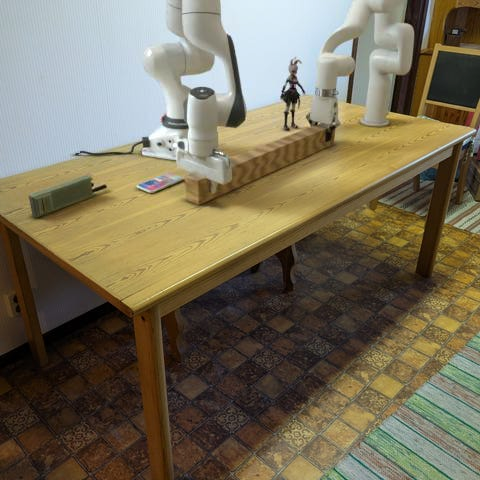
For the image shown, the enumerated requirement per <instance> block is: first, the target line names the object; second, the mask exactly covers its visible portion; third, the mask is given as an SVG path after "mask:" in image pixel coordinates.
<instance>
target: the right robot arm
mask: <svg viewBox="0 0 480 480" xmlns="http://www.w3.org/2000/svg"><path fill="white" fill-rule="evenodd" d="M405 2H406V0H352V1H351V4H350V7H349V9H348V12H347V14H346V17H345V19H344V21H343V24H342V25H341V26H339V27H337V29H335V30H334V31H333V32H332V33H331V34H330V35H329V36H328V37H326V39H325V40H324V42H323V44H322V46H321V49H320V51H319V53H318V56H317V60H316V79H315V90H314V91H315V92H314V94H313V97H312V100H311V104H310V109H309V110H310V111H309V113H307V115H306V116H305V119H306V121H307V122H308V123H309V125H310V127H312V126H315V125H317V124H320V123H323V124H326V126H327V132H326V138H325V142H328V141H331V139H332V131H333V130H334V129H335V130H336V129H337V128H339V127H340V126H341V121H340V119H339V99H338V95H339V94H340V93H339V91H337V86H338V85H337V84H338V77H348V76H350V75H351V74H353V72H354V70H355V68H356V61H355V59H354V58H353V57H352V56H350V55H348V54H342V53H336V52H335V50H336V49H337V48H338V47H339V46H340V45H342V44H344V43H346V42H349V41H352V40H355V39H357V38H359V37H361V36H363V35H364V34H365V33H366V30H367V28H368V25H369V22H370V20H371V18H372V15H373V14H374V27H373V28H374V31H373V40H374V43H375V45H377V46H380V47H381V48H376V49H374V50H372V52H371V53H370V56H369V59H368V64H369V65H368V66H369V78H368V85H367V93H366V94H367V95H366V101H365V108H364V115H363V116H362V117H361V118H360V119H359V122H360V124H362V125H364V126H368V127H375V128H376V127H378V128H380V127H386V126H389V124H390V121H389V120H388V119H387V116H389V115H390V112H389V110H388V108H389V102H390V96H391V95H390V94H391V90H392V80H391V76H390V75H396V76H405V75H407V74H409V72H410V70H411V68H412V63H413V55H414V54H413V53H414V45H415V44H414V43H415V29H414V27H413V26H412V25H411V24H409V23H406V22H398V20H397V19H398V18H397V17H398V15H397V14H398V8H399V7H400V6H402V5H403V4H404V3H405ZM389 74H390V75H389ZM333 124H335V125H333Z"/></svg>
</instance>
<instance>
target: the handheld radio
mask: <svg viewBox="0 0 480 480" xmlns="http://www.w3.org/2000/svg"><path fill="white" fill-rule="evenodd" d="M92 176H93V174H91V173H88V174H85V175H83V176H79V177H76V178H74V179H71V180H68V181H65V182H62V183H59V184H57V185H54V186H50V187H47V188H44V189H42V190H39V191H37V192H33V193H30V194H28V200H29V206H30V210H31V216H32V217H34V218H35V219H36V218H39V217H42V216H45V215H47V214H50V213H53V212H56V211H58V210H60V209H63V208H66V207H68V206H72V205H73V204H76V203H80V202H82V201H84V200H87V199H90V198H93V196H95V195H96V194H95V193H97V192H100V191H102V190H106V189H107V188H108V186H107V184H102V185H99V186H96V187H94V186H95V183H94V182H92V181H93V180H94V178H93V177H92ZM93 187H94V188H93Z"/></svg>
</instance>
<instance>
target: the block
mask: <svg viewBox="0 0 480 480" xmlns="http://www.w3.org/2000/svg"><path fill="white" fill-rule="evenodd" d="M333 125H335V123H333ZM326 132H327V126H326V124H323V123H318V124H317V125H315V126H312V127H311V126H310V127H307V128H305V129H302V130H299V131H297V132H294V133H292V134H289V135H287V136H284V137H281V138H279V139H276V140H274V141H270V142H268V143H266V144H263V145H261V146H258V147H256V148H253V149H250V150H249V151H248V150H247V151H245V152H243V153H240V154H238V155H237V154H236V155H235V156H232V157H229V158H230V163H231V169H232V180H231V181H230V182H229V183H227V184H224V185H222V184H219V183H218V185H217V187H216V192H215V193H210V192H209V187H211V186H212V183H211V180H209V179H207V178H206V177H204V176H201V175H199V174H196V173H191V174H186V175H184V187H185V188H184V189H185V190H184V191H185V201H187V202H190V203H192V204H194V205H197V206H200V205H202V204H205V203H207V202H209V201H211V200H214V199H216V198H218V197H221V196H222V195H225V194H227V193H230V192H232V191H233V190H235V189H238V188H240V187H242V186H244V185H246V184H249V183H251V182H254V181H256V180H258V179H260V178H262V177H265V176H266V175H269V174H271V173H274V172H275V171H279V170H281V169H282V168H284V167H287V166H289V165H291V164H293V163H295V162H298V161H300V160H302V159H305V158H307V157H309V156H311V155H313V154H316V153H317V152H320V151H322V150H325V149H327V148H328V147H332V146H333V145H335V138H336V137H335V136H336V129H334V130H333V131H332V139H331V141H328V142H325V138H326Z"/></svg>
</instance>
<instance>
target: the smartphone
mask: <svg viewBox="0 0 480 480" xmlns="http://www.w3.org/2000/svg"><path fill="white" fill-rule="evenodd" d="M182 181H184V177H183V176H180V175H179V174H174V173H172V172H166V173H163V174H161V175H159V176H156V177H154V178H151V179H149V180H146V181H143V182H141V183H138V184H137V185H136V188H137V189H139V190H141V191H143V192H145V193H148V194H154V193H156V192H158V191H160V190H161V191H162V190H164V189H166V188H168V187H170V186H172V185H175V184H177V183H180V182H182Z"/></svg>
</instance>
